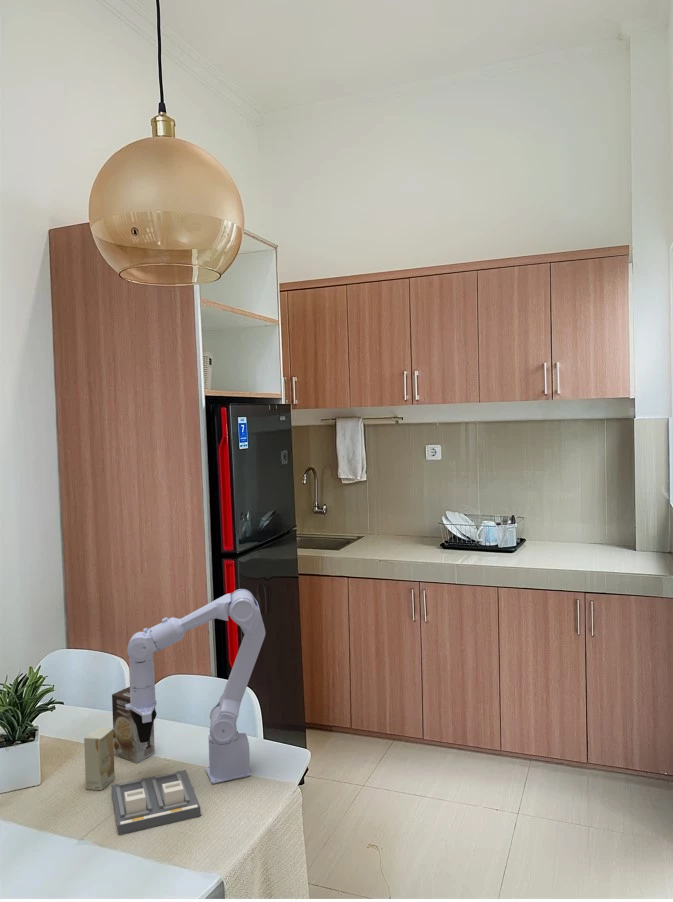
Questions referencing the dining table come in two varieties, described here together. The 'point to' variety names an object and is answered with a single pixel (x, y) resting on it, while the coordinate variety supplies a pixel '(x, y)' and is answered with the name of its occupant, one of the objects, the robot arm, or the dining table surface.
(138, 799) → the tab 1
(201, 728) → the dining table surface
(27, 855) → the dining table surface
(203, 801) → the dining table surface
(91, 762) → the skincare box
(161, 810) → the switch board
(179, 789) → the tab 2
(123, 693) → the coffee box
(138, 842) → the dining table surface
